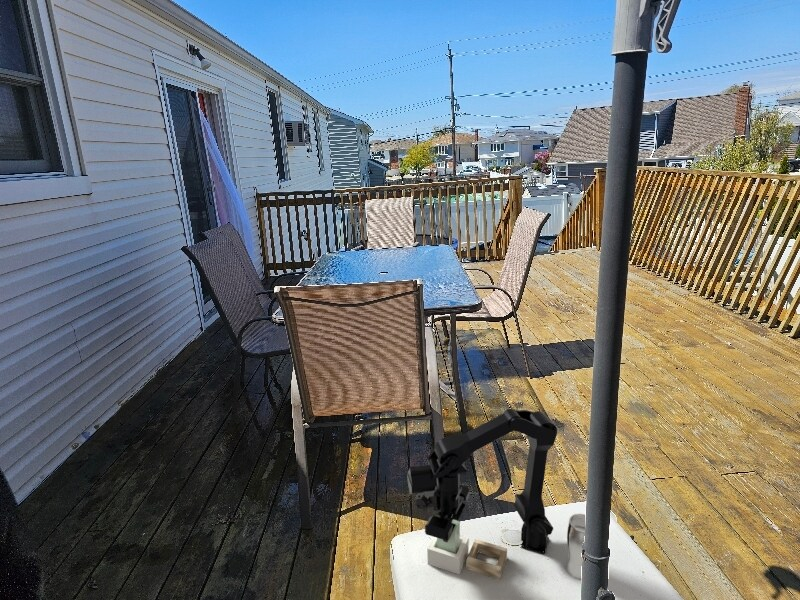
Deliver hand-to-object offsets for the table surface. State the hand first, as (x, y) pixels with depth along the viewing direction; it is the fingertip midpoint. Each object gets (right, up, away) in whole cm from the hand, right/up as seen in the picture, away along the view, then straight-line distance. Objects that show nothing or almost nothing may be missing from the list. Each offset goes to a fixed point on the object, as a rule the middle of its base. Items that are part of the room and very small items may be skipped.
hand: (448, 536), depth 134 cm
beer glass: (+34, -8, -3) cm, 35 cm away
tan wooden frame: (+10, -7, 0) cm, 13 cm away
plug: (0, -4, +1) cm, 4 cm away
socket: (0, -7, +2) cm, 7 cm away
